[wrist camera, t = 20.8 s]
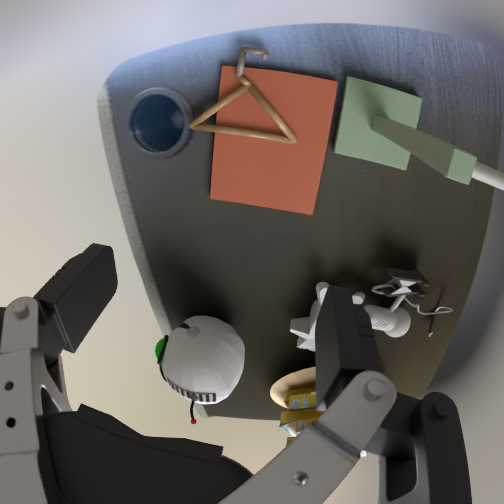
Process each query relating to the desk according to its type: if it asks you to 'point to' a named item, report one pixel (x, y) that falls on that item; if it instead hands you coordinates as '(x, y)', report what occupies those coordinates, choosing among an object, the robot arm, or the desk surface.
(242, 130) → the hanger
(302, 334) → the bunny figurine
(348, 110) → the hook stand
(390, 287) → the clip-on lamp
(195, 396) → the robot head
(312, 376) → the stacked boxes on plate
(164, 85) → the desk surface
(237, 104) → the mat
